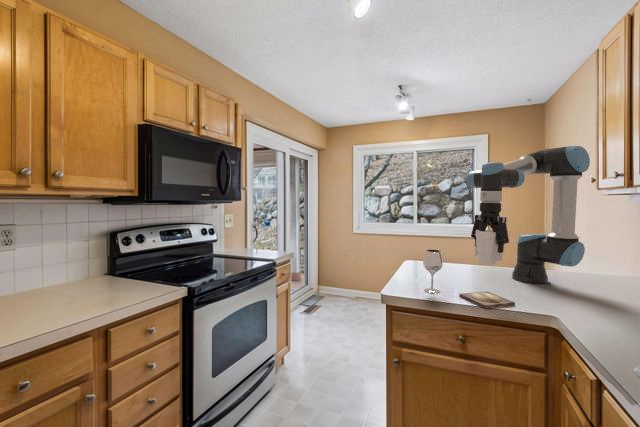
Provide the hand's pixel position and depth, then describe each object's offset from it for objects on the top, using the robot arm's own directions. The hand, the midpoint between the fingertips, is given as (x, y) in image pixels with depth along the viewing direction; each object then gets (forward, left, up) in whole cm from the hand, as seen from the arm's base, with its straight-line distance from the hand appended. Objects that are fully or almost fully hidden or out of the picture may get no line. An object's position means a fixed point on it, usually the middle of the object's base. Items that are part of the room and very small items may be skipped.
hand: (487, 258), depth 126 cm
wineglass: (+14, -16, -18) cm, 28 cm away
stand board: (0, 0, -17) cm, 17 cm away
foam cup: (0, 0, -2) cm, 2 cm away
